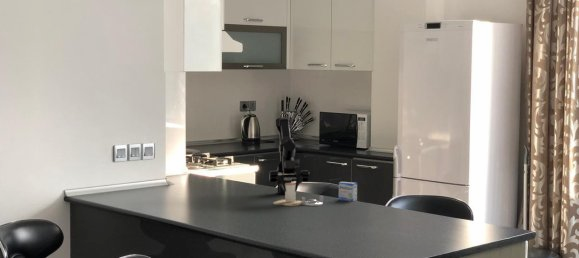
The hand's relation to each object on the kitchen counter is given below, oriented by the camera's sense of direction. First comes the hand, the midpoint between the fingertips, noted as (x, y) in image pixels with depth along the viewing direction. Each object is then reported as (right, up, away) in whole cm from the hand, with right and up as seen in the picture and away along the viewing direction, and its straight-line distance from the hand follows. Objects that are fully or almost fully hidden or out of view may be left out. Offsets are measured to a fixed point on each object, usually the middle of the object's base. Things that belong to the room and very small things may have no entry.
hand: (290, 190), depth 372 cm
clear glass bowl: (+10, -6, +2) cm, 12 cm away
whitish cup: (0, -4, +2) cm, 5 cm away
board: (-1, -6, +3) cm, 7 cm away
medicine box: (+27, -6, +13) cm, 31 cm away
